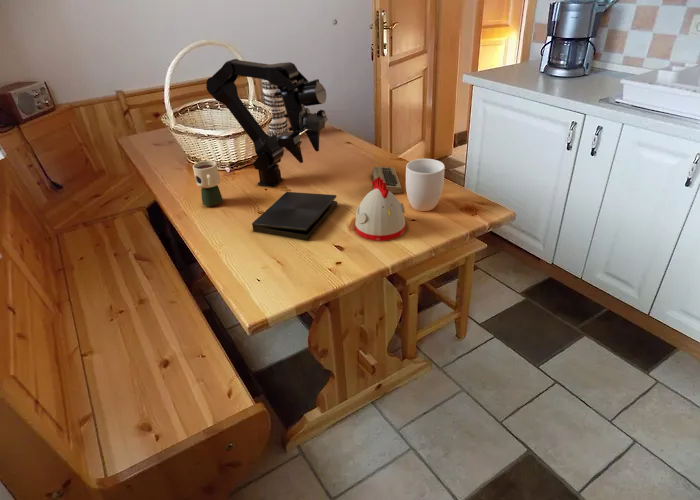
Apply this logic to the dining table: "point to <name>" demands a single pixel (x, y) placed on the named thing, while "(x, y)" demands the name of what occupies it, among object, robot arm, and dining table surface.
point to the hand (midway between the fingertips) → (309, 156)
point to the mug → (424, 183)
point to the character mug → (208, 182)
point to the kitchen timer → (380, 214)
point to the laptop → (298, 233)
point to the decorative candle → (274, 109)
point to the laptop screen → (295, 211)
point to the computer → (388, 178)
